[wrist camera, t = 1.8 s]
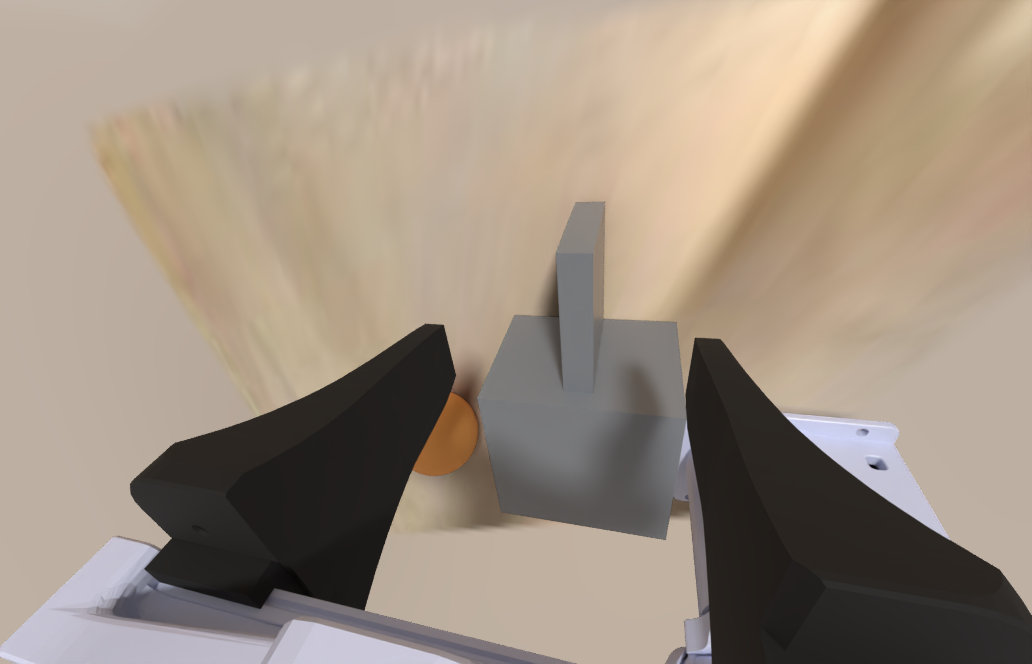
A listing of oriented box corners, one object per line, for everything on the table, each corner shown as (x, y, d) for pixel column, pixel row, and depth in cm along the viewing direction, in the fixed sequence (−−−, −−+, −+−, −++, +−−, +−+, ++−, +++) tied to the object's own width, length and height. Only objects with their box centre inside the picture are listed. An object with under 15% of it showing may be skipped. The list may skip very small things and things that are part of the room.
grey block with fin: (661, 436, 25) (665, 540, 20) (527, 421, 27) (501, 512, 22) (693, 196, 17) (713, 267, 12) (500, 201, 19) (448, 264, 14)
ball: (482, 376, 25) (452, 440, 21) (493, 433, 28) (468, 499, 24) (407, 370, 27) (366, 429, 23) (425, 425, 30) (391, 486, 26)
